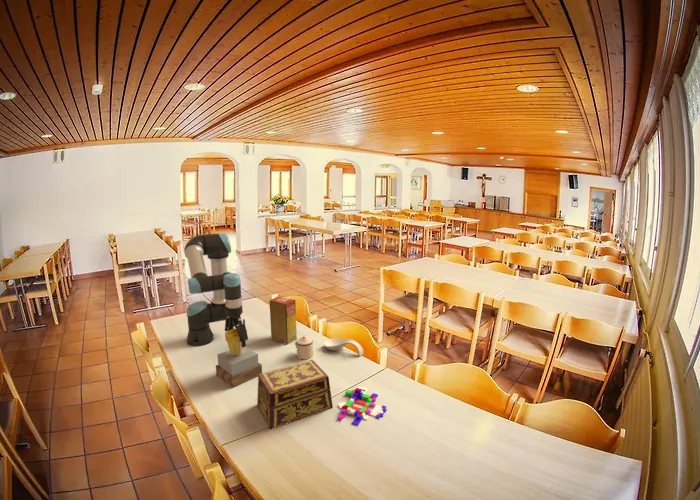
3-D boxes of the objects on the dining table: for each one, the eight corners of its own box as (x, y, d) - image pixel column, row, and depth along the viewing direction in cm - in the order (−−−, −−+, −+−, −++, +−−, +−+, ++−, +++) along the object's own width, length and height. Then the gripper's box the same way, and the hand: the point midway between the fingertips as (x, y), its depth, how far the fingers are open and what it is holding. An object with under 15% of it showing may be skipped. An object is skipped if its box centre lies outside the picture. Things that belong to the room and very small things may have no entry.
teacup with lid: (317, 355, 203) (316, 335, 200) (304, 361, 196) (303, 341, 194) (302, 348, 210) (301, 329, 208) (289, 354, 204) (288, 335, 201)
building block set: (374, 432, 143) (374, 422, 142) (327, 417, 152) (327, 408, 151) (395, 397, 165) (395, 388, 164) (353, 386, 174) (353, 377, 173)
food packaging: (297, 338, 223) (296, 299, 218) (287, 344, 216) (285, 304, 210) (281, 333, 230) (279, 295, 225) (270, 339, 223) (268, 300, 217)
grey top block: (218, 365, 182) (217, 354, 181) (244, 355, 192) (243, 345, 191) (232, 376, 173) (231, 364, 171) (258, 365, 182) (257, 354, 181)
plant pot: (252, 347, 183) (251, 329, 181) (240, 357, 174) (238, 337, 172) (235, 344, 187) (233, 326, 185) (221, 354, 177) (220, 335, 175)
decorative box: (270, 430, 144) (268, 395, 141) (256, 405, 160) (254, 373, 157) (333, 408, 158) (332, 376, 155) (315, 386, 174) (314, 357, 170)
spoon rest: (320, 350, 209) (319, 338, 208) (331, 342, 219) (331, 330, 218) (357, 360, 198) (356, 347, 196) (366, 351, 208) (366, 339, 206)
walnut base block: (216, 376, 184) (215, 365, 183) (245, 364, 195) (244, 354, 194) (233, 389, 173) (232, 377, 172) (262, 375, 184) (261, 364, 183)
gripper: (214, 302, 181) (218, 344, 185) (239, 314, 165) (243, 359, 170) (229, 298, 186) (232, 339, 190) (254, 309, 171) (257, 354, 175)
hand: (237, 349), depth 180 cm, fingers closed on plant pot, 10 cm apart
